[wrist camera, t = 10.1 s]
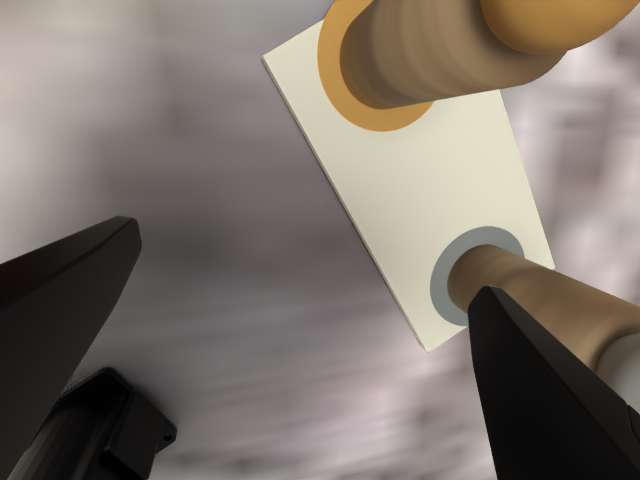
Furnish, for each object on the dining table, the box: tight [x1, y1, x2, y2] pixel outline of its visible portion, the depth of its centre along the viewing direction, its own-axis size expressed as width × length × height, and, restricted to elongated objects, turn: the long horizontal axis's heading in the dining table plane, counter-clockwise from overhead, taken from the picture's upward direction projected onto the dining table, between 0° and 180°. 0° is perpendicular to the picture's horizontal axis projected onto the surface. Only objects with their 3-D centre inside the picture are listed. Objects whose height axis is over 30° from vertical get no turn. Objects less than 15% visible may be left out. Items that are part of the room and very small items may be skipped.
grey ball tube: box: [447, 244, 640, 414], centre depth 17 cm, size 5×5×12 cm
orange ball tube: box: [339, 0, 640, 110], centre depth 12 cm, size 5×5×12 cm
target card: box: [262, 0, 555, 353], centre depth 21 cm, size 11×22×1 cm, turn 30°
